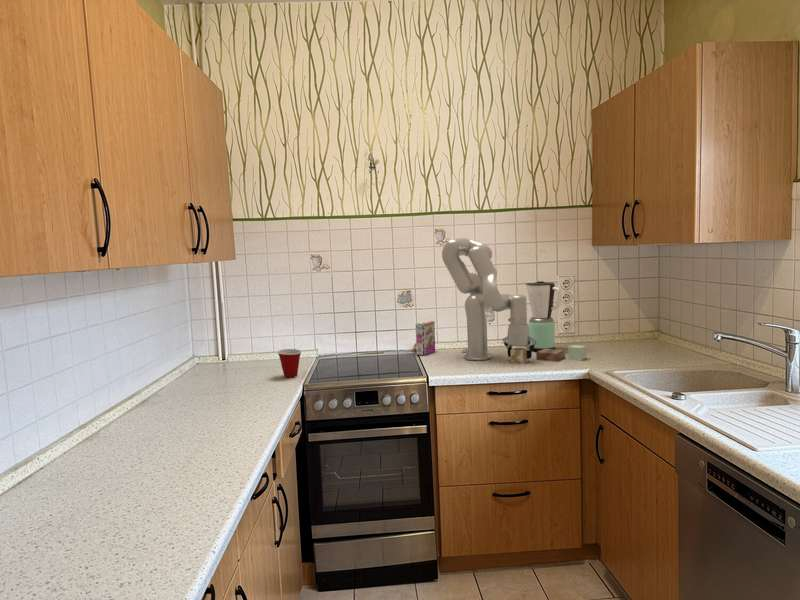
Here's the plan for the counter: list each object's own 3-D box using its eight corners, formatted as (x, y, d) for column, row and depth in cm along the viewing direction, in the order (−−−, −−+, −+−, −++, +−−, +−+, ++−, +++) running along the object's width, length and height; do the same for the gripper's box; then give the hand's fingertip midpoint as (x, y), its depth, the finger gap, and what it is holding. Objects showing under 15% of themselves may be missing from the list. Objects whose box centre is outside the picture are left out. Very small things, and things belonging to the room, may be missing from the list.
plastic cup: (297, 379, 263) (295, 352, 262) (275, 379, 266) (273, 352, 264) (307, 373, 273) (305, 348, 272) (285, 373, 276) (283, 348, 275)
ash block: (510, 362, 279) (510, 349, 279) (517, 359, 284) (516, 347, 283) (522, 363, 275) (522, 350, 275) (528, 360, 280) (528, 348, 279)
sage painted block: (568, 359, 279) (568, 347, 278) (573, 357, 284) (573, 344, 283) (580, 360, 275) (580, 348, 275) (585, 358, 280) (585, 345, 279)
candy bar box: (424, 356, 302) (423, 324, 300) (416, 355, 305) (414, 323, 303) (436, 351, 311) (434, 320, 309) (428, 351, 314) (426, 320, 312)
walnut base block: (536, 360, 282) (536, 352, 281) (545, 356, 289) (544, 348, 289) (556, 362, 276) (556, 353, 275) (564, 358, 283) (564, 350, 283)
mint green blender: (520, 350, 304) (519, 282, 300) (532, 346, 314) (531, 280, 310) (555, 354, 292) (554, 283, 288) (567, 349, 302) (566, 280, 298)
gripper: (498, 321, 280) (499, 357, 282) (531, 323, 269) (532, 360, 271) (506, 319, 286) (507, 354, 288) (539, 321, 275) (540, 357, 277)
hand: (519, 357), depth 279 cm, fingers open, 9 cm apart
